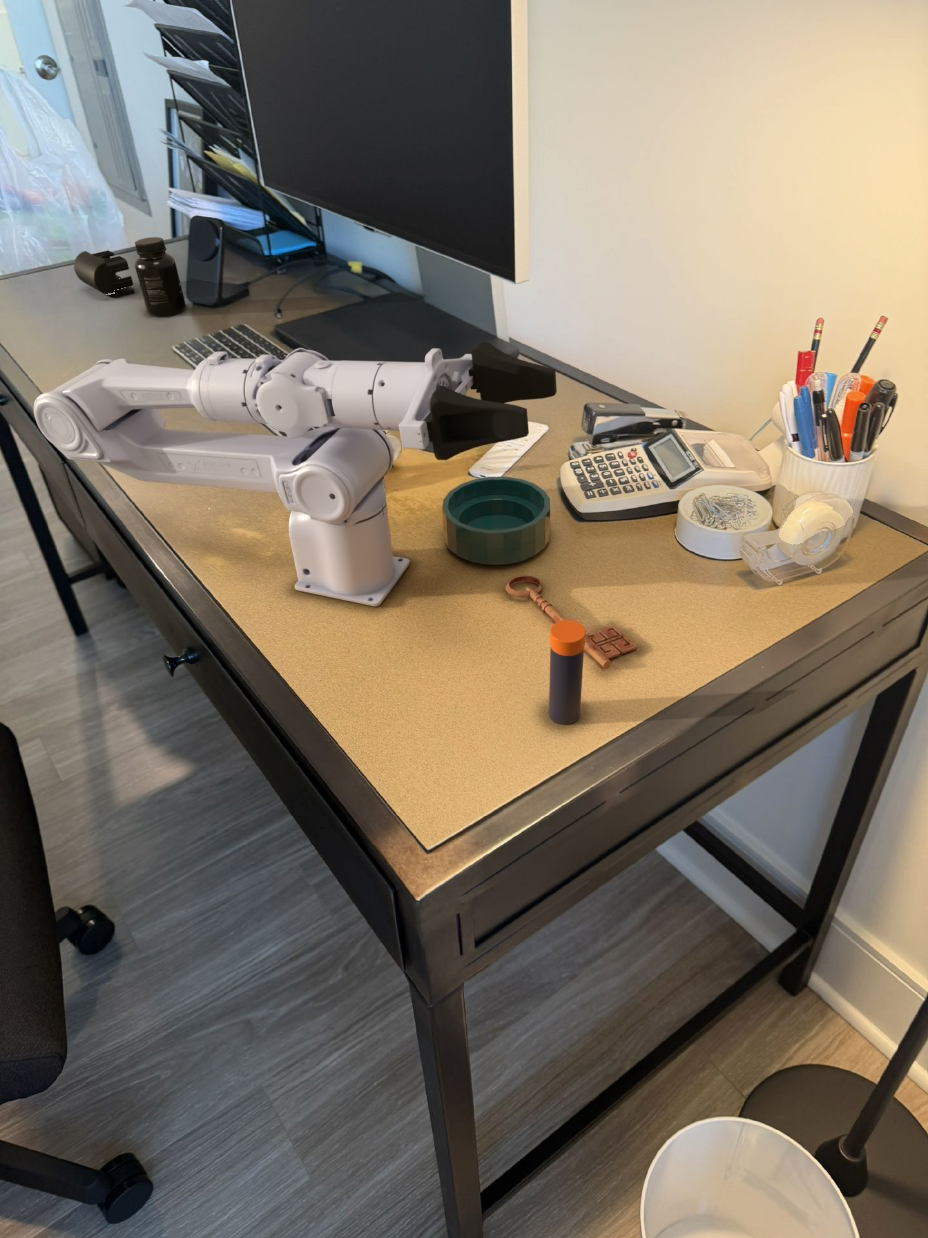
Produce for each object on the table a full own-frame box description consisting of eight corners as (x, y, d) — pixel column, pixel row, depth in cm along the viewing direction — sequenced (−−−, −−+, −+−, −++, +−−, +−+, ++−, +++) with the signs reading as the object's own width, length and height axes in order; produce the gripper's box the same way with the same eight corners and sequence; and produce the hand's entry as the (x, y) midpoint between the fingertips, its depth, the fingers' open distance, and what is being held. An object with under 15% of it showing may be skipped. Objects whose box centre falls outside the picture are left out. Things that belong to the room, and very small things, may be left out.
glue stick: (544, 721, 71) (545, 638, 65) (553, 699, 73) (555, 617, 67) (575, 728, 70) (580, 645, 64) (584, 706, 72) (589, 623, 66)
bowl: (429, 558, 90) (426, 522, 87) (466, 504, 98) (465, 470, 95) (531, 577, 87) (531, 540, 84) (561, 520, 95) (562, 484, 92)
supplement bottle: (194, 307, 155) (178, 237, 147) (166, 319, 150) (147, 248, 143) (168, 302, 158) (150, 232, 150) (139, 313, 153) (119, 243, 146)
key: (640, 655, 77) (547, 572, 87) (642, 647, 77) (548, 564, 87) (588, 675, 75) (498, 586, 85) (589, 666, 74) (499, 579, 84)
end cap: (80, 290, 165) (69, 254, 161) (115, 281, 169) (105, 245, 164) (100, 302, 159) (89, 265, 155) (136, 293, 163) (126, 256, 158)
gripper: (339, 385, 66) (507, 391, 61) (415, 319, 76) (563, 319, 71) (358, 468, 70) (516, 479, 65) (427, 395, 80) (567, 400, 75)
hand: (541, 401), depth 68 cm, fingers open, 7 cm apart
